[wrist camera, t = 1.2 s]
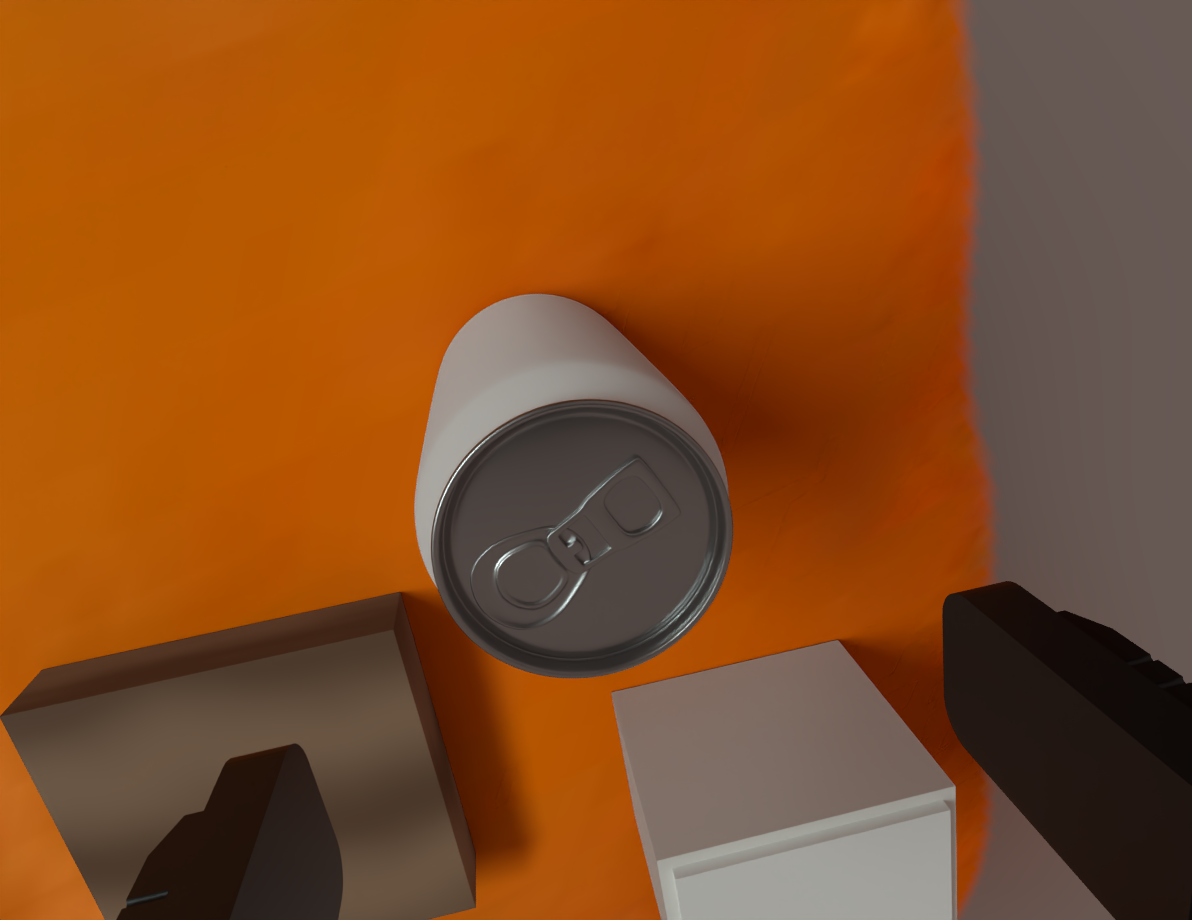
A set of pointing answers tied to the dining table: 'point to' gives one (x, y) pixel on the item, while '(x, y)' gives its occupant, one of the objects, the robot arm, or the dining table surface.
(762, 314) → the dining table surface
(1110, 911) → the robot arm
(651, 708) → the white box
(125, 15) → the dining table surface
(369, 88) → the dining table surface
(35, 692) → the base
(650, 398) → the can
